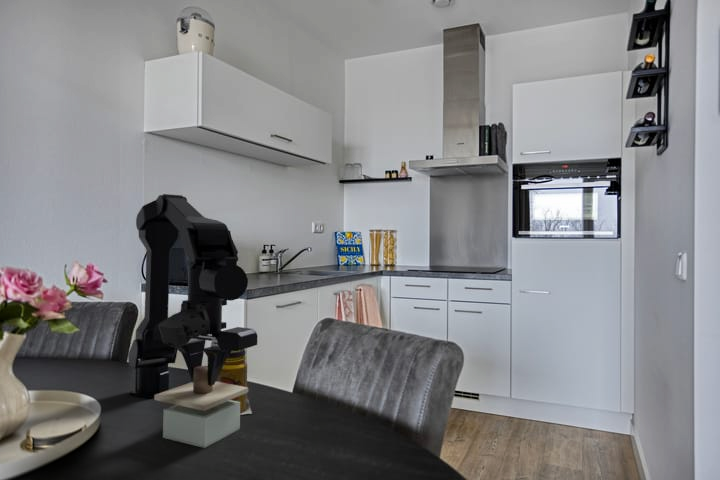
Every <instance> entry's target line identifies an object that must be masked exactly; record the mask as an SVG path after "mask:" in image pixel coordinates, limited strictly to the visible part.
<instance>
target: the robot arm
mask: <svg viewBox="0 0 720 480" xmlns="http://www.w3.org/2000/svg"><path fill="white" fill-rule="evenodd" d="M135 223H136V225H135V226H136V229H137V230H138V238H139V240H140V242H141V243H142V245H143V246H144V248H145V250H146V254H145V255H146V257H145V262H146V263H145V287H144V288H145V289H144V293H145V295H144V317H143V318H142V321H141V322H140V324H138V327H137V328H136V329H135V339H133V341H132V343H131V346H130V349H129V351H128V354H127V358H128V359H127V360H128V366H130V367H131V368H133V369H135V383H134V386H135V387H134V388H135V389H133V390H129V392H128V394H129V395H133V396H138V397H142V398H147V399H152V398H154V395H156V394H159V393H162V392H165V391H168V390H170V389H173V388H174V387H171V386H170V371H169V364H175V363H176V360H177V356H178V355H177V354H178V351H179V352H180V353H181V355H182V358H183V360H184V362H185V364H186V368H187V370H188V374H189V376H190V380H191V382H193V376H194V368H195V367H198V366H203V359H204V354H205V355H206V356H207V366H208V385H209V386H212V385H214V384H215V382H216V380H217V378H218V375H219V373H220V371H221V369H222V367H223V365H224V363H225V361H226V359H227V358H228V356H229V354H230V353H231V351H239V350H242V349H249V348H251V347H255V346H258V333H257V332H256V330H255V329H254V328H250V327H249V328H248V327H241V326H240V327H239V326H236V327H233V328H229V329H227V322H225V321H222V320H223V319H222V318H223V317H222V315H223V306H227V305H228V301H229V302H230V301H235V300H236V301H237V300H238V299H239V298H241V297H242V296H243V295H244V294H245V293H246V290H247V288H248V284H249V280H248V276H247V274H246V272H245V270H244V269H243V268H242V267H240V265H238V263H237V262H238V261H239V257H238V253H239V251H238V248H237V247H236V245H235V242H234V241H233V237H232V234H231V230H229V228H228V226H227V224H225V223H224V222H222V221H219V220H217V219H212V218H208V217H206V216H203V214H201V212H199V211H198V210H197V209H196V208H195V207H194V206H193V205H192V204H191V203H189V202H188V199H187V197H186V196H184V195H182V194H169V193H167V194H166V193H164V194H160V195H158V196H157V198H156V199H154V200H153V201H150V202H148V203H146V204H144V205H143V206H142V207H141V208H140V210H139V211H138V213H137V216H136V218H135ZM180 234H181V235H180ZM179 235H180V244H181V247H182V248H183V251H184V252H185V255H186V256H187V258H188V260H187V261H186V264H185V266H186V267H188V268H187V269H188V270H187V271H188V273H187V275H188V277H187V299H186V300H181V301H182V303H181V305H180V310H179V312H177V313H176V312H175V313H174V314H172V315H170V316H169V299H170V297H169V296H170V295H169V294H170V291H169V290H170V262H171V261H170V260H171V250H172V248H173V247H174V246H175V244H176V243H177V242H178V240H179ZM223 329H225V330H223ZM207 341H210V342H211V343H210V346H208V347H205V346H206V342H207Z"/></svg>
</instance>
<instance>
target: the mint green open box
mask: <svg viewBox="0 0 720 480" xmlns="http://www.w3.org/2000/svg"><path fill="white" fill-rule="evenodd" d="M162 412H163V413H162V414H163V417H162V418H163V419H162V420H163V421H162V438H164V439H168V440H171V441H175V442H180V443H183V444H186V445H190V446H191V445H192V446H196V447H200V448H203V449H204V448H207V447H209V446H211V445H212V444H215V443H216V442H218V441H220V440H222V439H224V438H226V437H227V436H229V435H231V434H232V433H235V432H237V431H238V430H240V428H241V415H240V402H238V401H233V400H229V401H226V402H224V403H222V404H219V405H217V406H215V407H212V408H210V409H208V410H205V411H202V410H198V409H193V408H189V407H184V406H180V405H176V404H173V405H171V406H168V407H166V408H164V409H163V411H162Z"/></svg>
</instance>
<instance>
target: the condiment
mask: <svg viewBox="0 0 720 480" xmlns="http://www.w3.org/2000/svg"><path fill="white" fill-rule="evenodd" d="M246 352H247V351H246V350H245V349H242V350H239V351H231V353H230V354H229V356H228V358H227V359H226V361H225V363H224V365H223V367H222V369H221V371H220V373H219V375H218V378H217V380H216V382H222V383H227V384H232V385H238V386H243V387H248V363H247V362H246V359H247V358H246ZM231 400H233V401H238V402H240V416H241V415H242V416H243V415H249V414H250V415H252V414H253V411H252V409H251V404H250V400H249V399H248V392H247V393H245V394H243V395H240V396H238V397H236V398H233V399H231Z"/></svg>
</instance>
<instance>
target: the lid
mask: <svg viewBox="0 0 720 480" xmlns="http://www.w3.org/2000/svg"><path fill="white" fill-rule="evenodd" d="M172 388H173V389H170V390H168V391H165V392H162V393H159V394H156V395H154V397H153V398H154V400H155V401H158V402H162V403H168V404H172V405H180V406H184V407H189V408H193V409H198V410H202V411H205V410H208V409H210V408H212V407H215V406H217V405H219V404H222V403H224V402H226V401H229V400H231V399H233V398H236V397H238V396H240V395H243V394H245V393H247V394H248V393H249V387H248V386H247V387H243V386H238V385H232V384H227V383H222V382H215V384H214V385H212V386H209V385H208V365H202V366H198V367H195V368H194V376H193V382H192V381H191V382H188V383H185V384H183V385H179V386H176V387H172Z"/></svg>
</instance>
